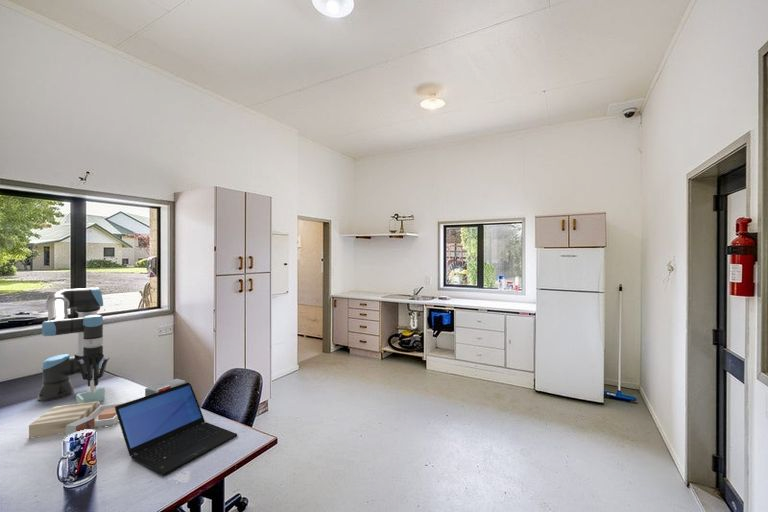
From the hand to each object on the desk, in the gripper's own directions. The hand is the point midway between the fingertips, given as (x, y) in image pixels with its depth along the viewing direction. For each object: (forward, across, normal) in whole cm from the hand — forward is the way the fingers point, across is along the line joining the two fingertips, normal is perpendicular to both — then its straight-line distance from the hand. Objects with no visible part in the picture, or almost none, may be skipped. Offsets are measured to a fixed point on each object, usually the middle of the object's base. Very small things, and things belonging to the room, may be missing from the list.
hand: (93, 392), depth 169 cm
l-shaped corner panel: (+16, -8, +20) cm, 27 cm away
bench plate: (+14, -11, -1) cm, 18 cm away
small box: (+14, +5, -26) cm, 30 cm away
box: (+14, +6, -1) cm, 15 cm away
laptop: (+14, +46, -39) cm, 62 cm away
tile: (+11, +7, -1) cm, 13 cm away
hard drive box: (+14, +36, -18) cm, 42 cm away
